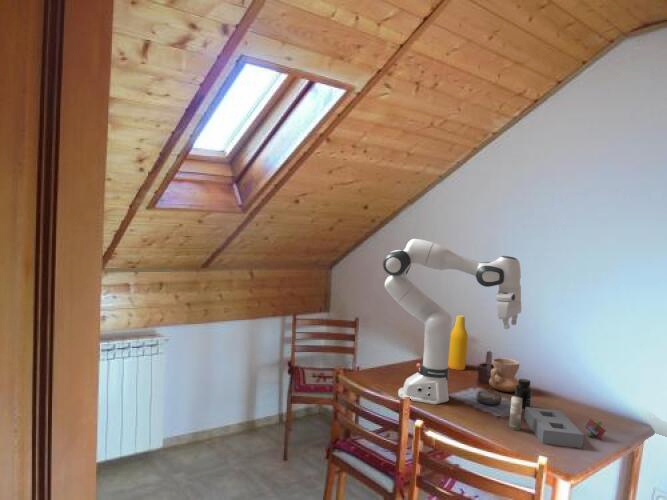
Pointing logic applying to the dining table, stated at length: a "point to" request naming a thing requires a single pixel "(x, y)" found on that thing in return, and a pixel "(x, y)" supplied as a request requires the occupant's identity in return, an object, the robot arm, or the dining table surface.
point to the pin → (515, 413)
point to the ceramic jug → (504, 374)
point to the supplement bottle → (524, 392)
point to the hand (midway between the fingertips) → (510, 326)
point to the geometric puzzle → (595, 428)
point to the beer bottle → (458, 345)
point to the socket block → (553, 427)
